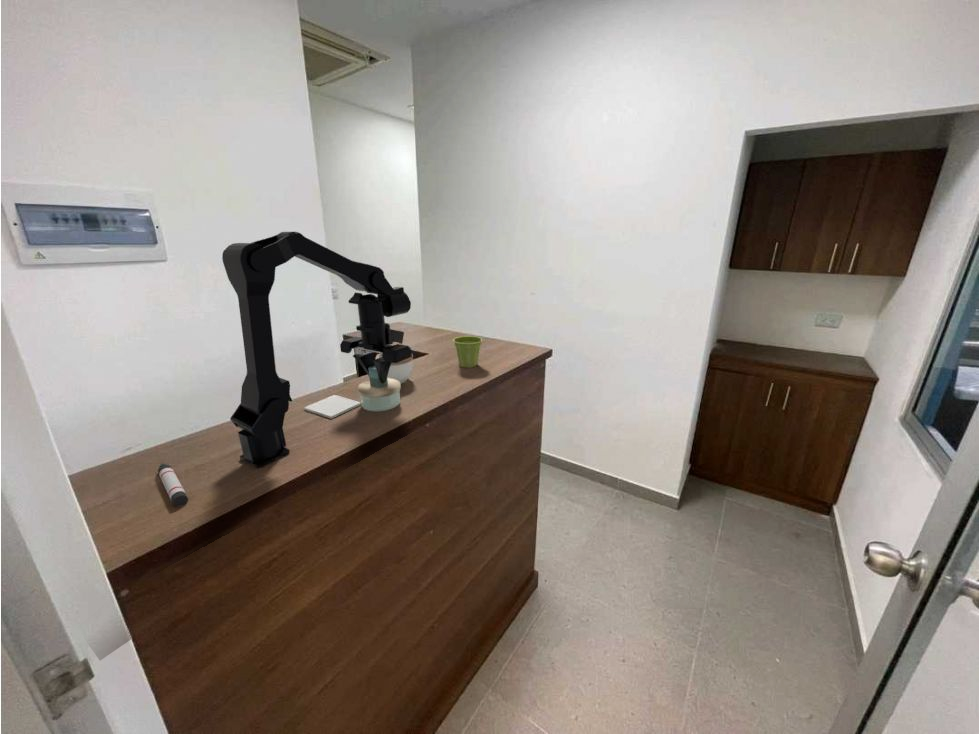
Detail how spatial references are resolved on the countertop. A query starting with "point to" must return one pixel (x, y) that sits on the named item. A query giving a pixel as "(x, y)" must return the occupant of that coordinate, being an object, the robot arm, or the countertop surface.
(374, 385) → the lid
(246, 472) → the countertop surface
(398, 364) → the lidded jar
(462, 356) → the plant pot
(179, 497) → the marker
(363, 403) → the bowl
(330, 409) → the mat
